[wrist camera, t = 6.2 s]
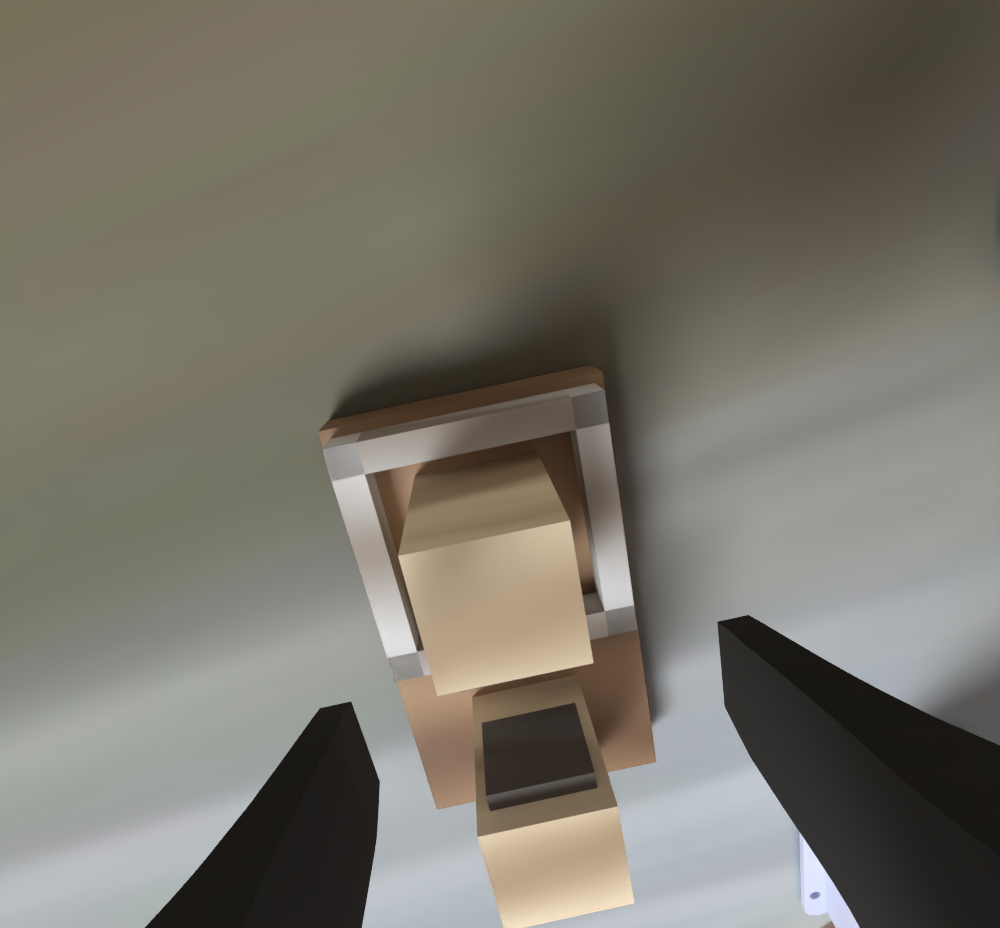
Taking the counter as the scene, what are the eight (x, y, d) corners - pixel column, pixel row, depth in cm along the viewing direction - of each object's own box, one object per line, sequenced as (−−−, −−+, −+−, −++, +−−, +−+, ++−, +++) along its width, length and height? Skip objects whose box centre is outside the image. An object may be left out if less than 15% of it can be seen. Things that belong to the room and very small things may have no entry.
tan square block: (414, 476, 18) (397, 556, 13) (536, 450, 18) (569, 520, 13) (446, 598, 19) (442, 715, 14) (558, 574, 19) (597, 682, 14)
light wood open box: (644, 733, 24) (717, 907, 17) (438, 778, 24) (431, 970, 17) (591, 364, 19) (666, 410, 12) (328, 420, 19) (258, 497, 12)
